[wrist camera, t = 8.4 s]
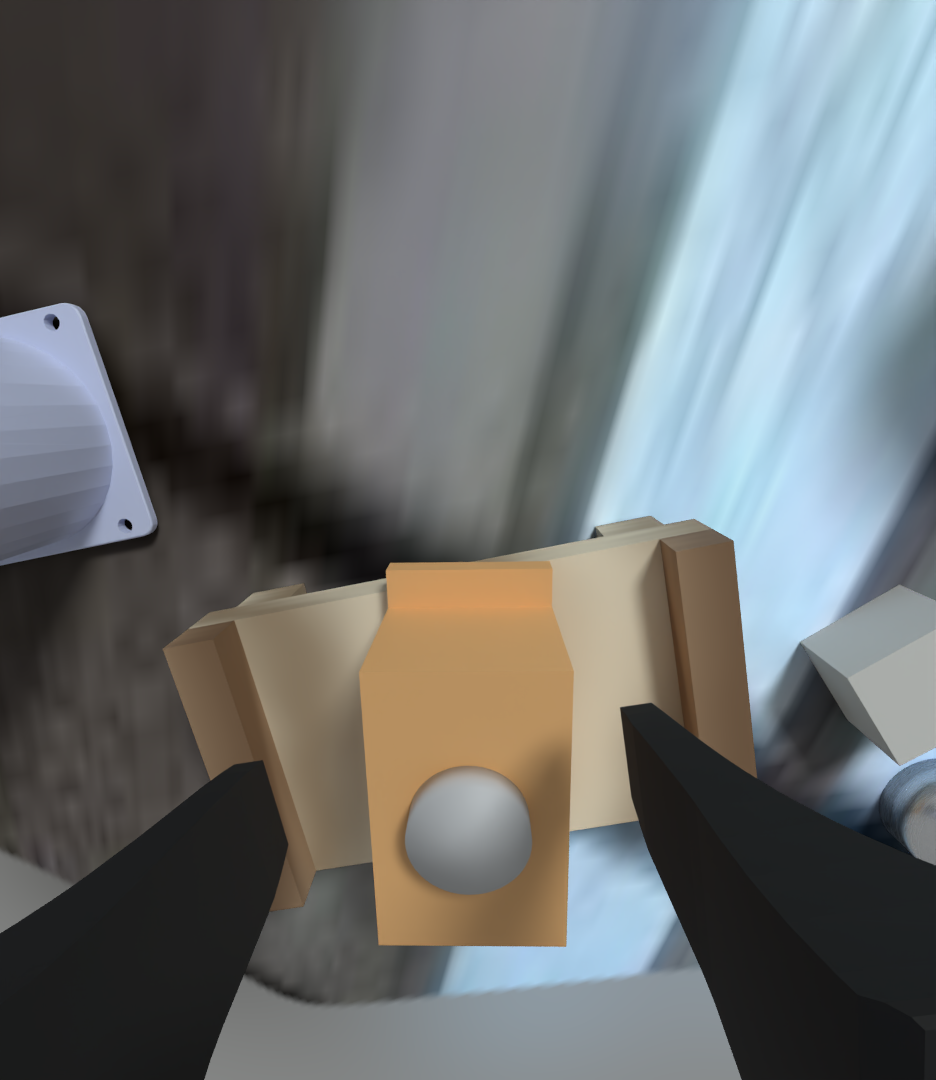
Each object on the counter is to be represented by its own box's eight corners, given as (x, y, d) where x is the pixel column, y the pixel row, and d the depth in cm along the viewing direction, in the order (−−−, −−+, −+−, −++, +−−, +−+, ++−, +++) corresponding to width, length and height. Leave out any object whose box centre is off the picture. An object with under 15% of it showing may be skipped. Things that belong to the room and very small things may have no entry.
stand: (299, 818, 24) (258, 913, 19) (228, 597, 21) (162, 648, 17) (708, 751, 22) (762, 837, 18) (678, 510, 20) (733, 541, 16)
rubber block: (844, 717, 22) (899, 765, 19) (797, 640, 21) (847, 678, 18) (941, 665, 22) (1013, 706, 19) (896, 583, 21) (964, 613, 18)
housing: (405, 840, 20) (375, 1011, 15) (390, 562, 18) (347, 639, 12) (545, 841, 20) (569, 1013, 14) (549, 561, 18) (581, 637, 12)
